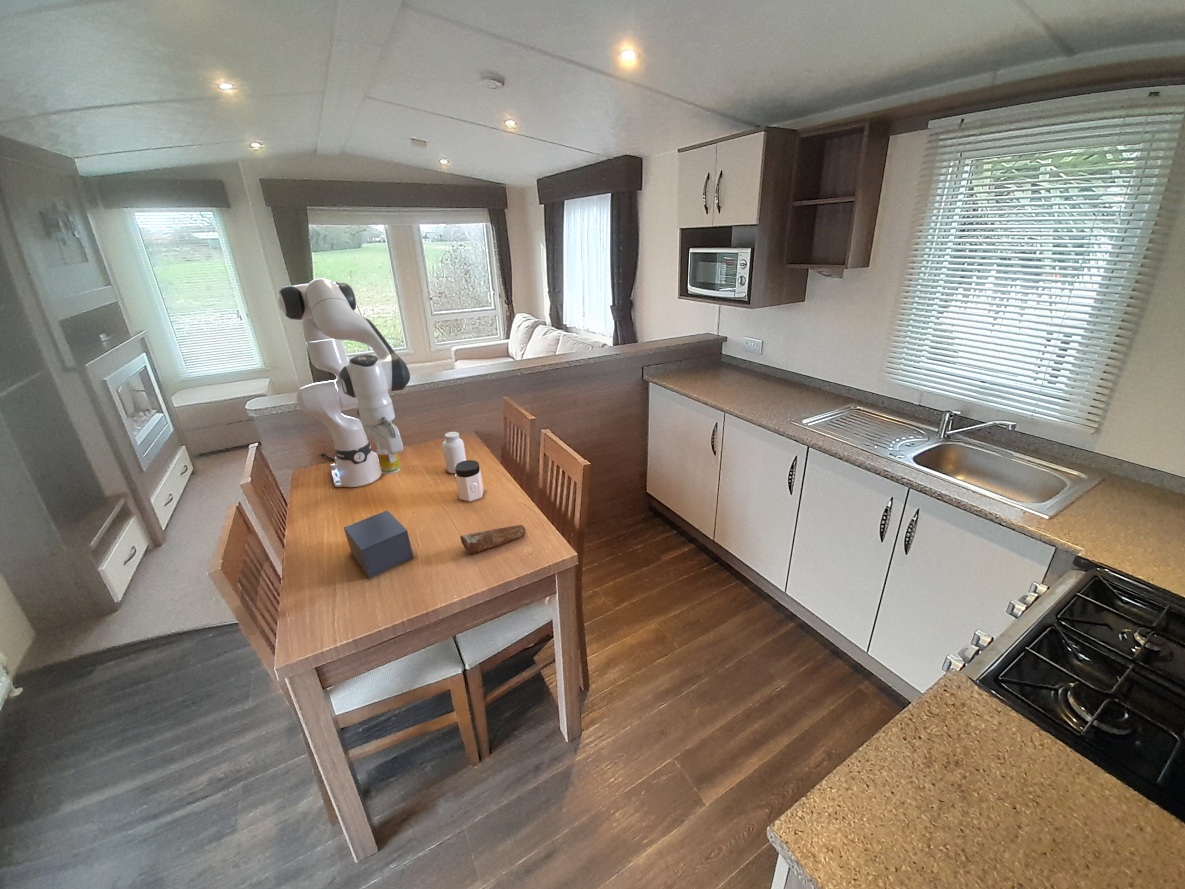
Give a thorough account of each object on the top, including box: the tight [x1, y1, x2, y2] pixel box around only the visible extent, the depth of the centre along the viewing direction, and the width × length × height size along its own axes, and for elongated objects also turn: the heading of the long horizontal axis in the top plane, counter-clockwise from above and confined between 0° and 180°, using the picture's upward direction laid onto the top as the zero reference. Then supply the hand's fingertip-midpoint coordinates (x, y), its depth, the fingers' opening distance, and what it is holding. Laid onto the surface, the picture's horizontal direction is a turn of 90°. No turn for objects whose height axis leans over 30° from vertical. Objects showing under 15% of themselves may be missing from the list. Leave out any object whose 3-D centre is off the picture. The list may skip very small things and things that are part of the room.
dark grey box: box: [343, 509, 414, 579], centre depth 137 cm, size 15×13×10 cm
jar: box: [454, 459, 484, 503], centre depth 166 cm, size 9×8×12 cm
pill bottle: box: [441, 431, 467, 474], centre depth 184 cm, size 8×8×15 cm
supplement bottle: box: [376, 443, 402, 475], centre depth 139 cm, size 5×5×10 cm
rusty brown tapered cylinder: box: [460, 524, 527, 555], centre depth 141 cm, size 6×19×6 cm, turn 115°
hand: (387, 458), depth 139 cm, fingers closed on supplement bottle, 5 cm apart
